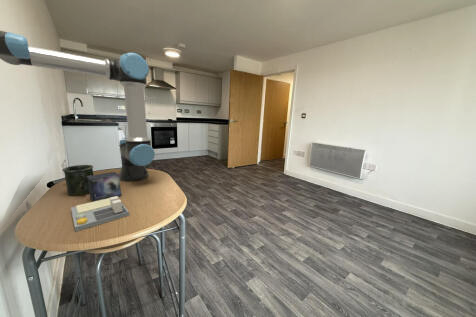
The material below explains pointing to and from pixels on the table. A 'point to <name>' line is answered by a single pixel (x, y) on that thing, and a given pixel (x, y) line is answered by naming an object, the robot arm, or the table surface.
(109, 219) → the breaker panel
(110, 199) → the toggle
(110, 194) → the small box
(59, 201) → the table surface
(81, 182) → the mug
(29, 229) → the table surface
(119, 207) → the toggle
